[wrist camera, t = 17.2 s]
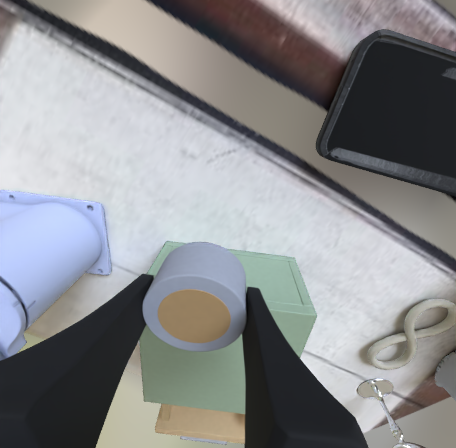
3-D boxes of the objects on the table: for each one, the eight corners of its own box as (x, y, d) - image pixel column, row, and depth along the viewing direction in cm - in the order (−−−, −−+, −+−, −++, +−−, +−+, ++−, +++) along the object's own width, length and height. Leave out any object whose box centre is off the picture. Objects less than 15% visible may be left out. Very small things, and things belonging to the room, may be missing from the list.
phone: (495, 207, 17) (315, 156, 16) (481, 202, 18) (310, 153, 17) (592, 94, 14) (371, 21, 13) (568, 96, 15) (362, 28, 14)
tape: (162, 304, 15) (144, 347, 12) (160, 236, 12) (137, 269, 10) (239, 313, 15) (239, 358, 12) (252, 247, 12) (255, 283, 10)
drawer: (246, 412, 32) (247, 463, 27) (168, 402, 32) (155, 451, 27) (270, 330, 25) (277, 381, 20) (169, 317, 25) (152, 365, 20)
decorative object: (356, 355, 27) (390, 368, 27) (361, 364, 26) (396, 377, 26) (426, 289, 22) (465, 305, 23) (434, 297, 21) (475, 314, 22)
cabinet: (267, 348, 27) (275, 418, 21) (166, 335, 27) (143, 401, 21) (294, 257, 22) (317, 315, 15) (166, 240, 22) (135, 292, 15)
